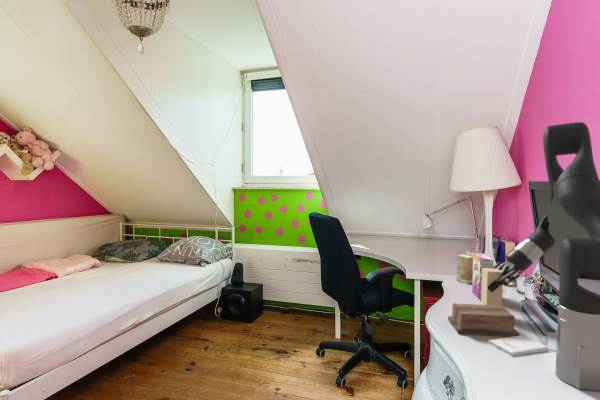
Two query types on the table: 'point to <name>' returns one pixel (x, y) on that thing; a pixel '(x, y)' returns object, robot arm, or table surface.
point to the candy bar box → (479, 272)
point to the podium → (482, 320)
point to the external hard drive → (517, 345)
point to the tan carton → (487, 295)
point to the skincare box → (464, 269)
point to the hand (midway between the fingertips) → (486, 287)
